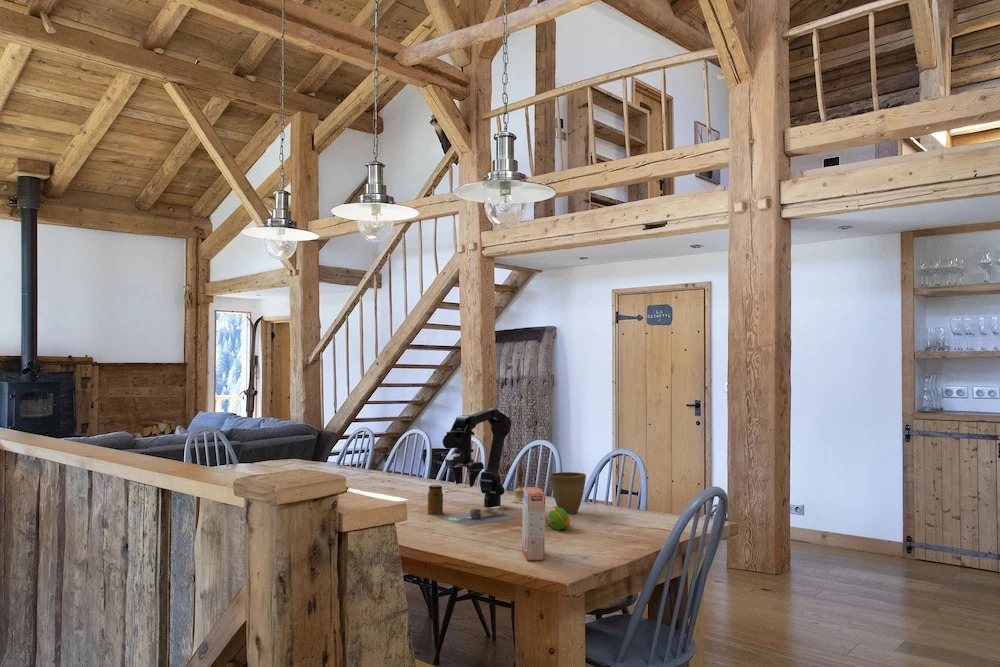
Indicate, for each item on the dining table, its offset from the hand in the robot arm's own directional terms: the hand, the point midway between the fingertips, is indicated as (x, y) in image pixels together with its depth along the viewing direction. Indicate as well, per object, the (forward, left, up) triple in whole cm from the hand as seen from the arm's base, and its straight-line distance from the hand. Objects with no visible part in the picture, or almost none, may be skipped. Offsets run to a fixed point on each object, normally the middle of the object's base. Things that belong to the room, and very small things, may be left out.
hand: (464, 485), depth 307 cm
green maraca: (-14, +39, -12) cm, 43 cm away
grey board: (+1, +11, -12) cm, 16 cm away
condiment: (+9, -6, -12) cm, 17 cm away
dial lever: (+1, +12, -11) cm, 16 cm away
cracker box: (+22, +66, -12) cm, 71 cm away
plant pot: (-37, +23, -12) cm, 45 cm away
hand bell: (-39, -9, -12) cm, 42 cm away
